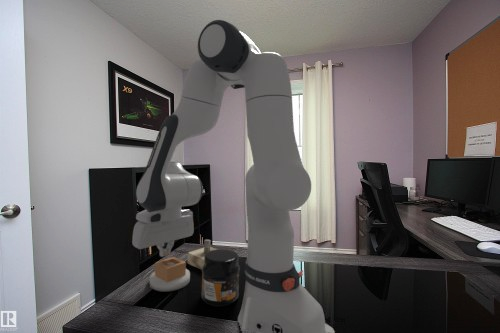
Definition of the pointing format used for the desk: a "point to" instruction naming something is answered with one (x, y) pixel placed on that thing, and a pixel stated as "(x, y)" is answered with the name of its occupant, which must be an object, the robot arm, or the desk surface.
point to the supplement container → (220, 277)
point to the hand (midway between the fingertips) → (165, 255)
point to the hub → (171, 285)
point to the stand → (199, 255)
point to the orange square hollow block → (170, 269)
